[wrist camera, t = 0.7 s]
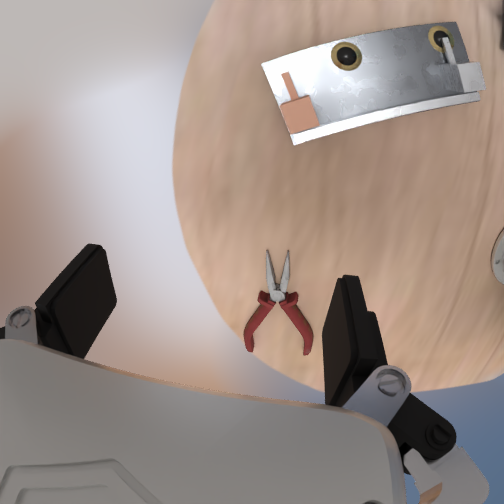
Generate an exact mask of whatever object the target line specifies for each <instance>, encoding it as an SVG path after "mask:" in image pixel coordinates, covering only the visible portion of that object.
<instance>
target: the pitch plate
mask: <svg viewBox="0 0 504 504" xmlns="http://www.w3.org/2000/svg"><path fill="white" fill-rule="evenodd" d="M261 65H262V67H263V69H264V72H265V74H266V76H267V79H268V81H269V83H270V86H271V88H272V91H273V93H274V95H275V98H276V100H277V103H278V105H279V106H280V105H281V104H282V103H284V102H287V101H290V100H291V98H290V95H289V93H288V90H287V88H286V85H285V83H284V80H283V78H282V76H281V74H283V73H286V72H289V75H290V77H291V79H292V82H293V84H294V87H295V89H296V92H297V94H298V97H303V96H306V95H309V97H310V100H311V102H312V105H313V108H314V111H315V113H316V116H317V119H318V122H319V124H320V126H316V127H313V128H310V129H307V130H303V131H300V132H297V133H294V134H291V135H290V136H291V139H292V142H293V144H294V145H297V144H300V143H303V142H307V141H310V140H313V139H316V138H320V137H323V136H327V135H330V134H334V133H337V132H341V131H344V130H348V129H352V128H355V127H359V126H363V125H367V124H371V123H375V122H379V121H383V120H387V119H391V118H395V117H400V116H404V115H409V114H413V113H418V112H422V111H427V110H432V109H437V108H442V107H448V106H453V105H459V104H464V103H470V102H477V101H479V100H480V96H479V92H477V91H479V90H486V86H485V82H484V78H483V74H482V70H481V67H480V63H479V62H469V59H468V55H467V52H466V49H465V46H464V43H463V40H462V37H461V34H460V31H459V29H458V26H457V23H456V22H446V23H434V24H425V25H417V26H409V27H402V28H396V29H390V30H384V31H378V32H373V33H368V34H363V35H359V36H354V37H350V38H346V39H341V40H337V41H333V42H330V43H326V44H322V45H318V46H315V47H311V48H308V49H305V50H301V51H298V52H295V53H292V54H289V55H285V56H282V57H279V58H276V59H274V60H271V61H268V62H265V63H262V64H261ZM279 108H280V107H279ZM280 110H281V109H280ZM281 113H282V112H281ZM282 115H283V114H282ZM283 118H284V117H283ZM284 121H285V119H284ZM285 123H286V122H285ZM286 126H287V125H286ZM287 128H288V127H287ZM288 131H289V130H288ZM289 134H290V132H289Z"/></svg>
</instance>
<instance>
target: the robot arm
mask: <svg viewBox="0 0 504 504" xmlns="http://www.w3.org/2000/svg"><path fill="white" fill-rule="evenodd" d="M491 265H492V271H493V273H494V275H495V277H496V278H497V280H498V281H499V282H500V283H502V284H504V230H503V231H502V232H501V234H500V235H499V237H498V239H497V241H496V243H495V246H494V249H493V253H492V259H491ZM116 303H117V298H116V294H115V290H114V286H113V282H112V278H111V273H110V269H109V265H108V260H107V255H106V251H105V250H104V249H103V247H102V246H101V245H96V244H87V245H86V246H85V247H84V248H83V249H82V250H81V252H80V253H79V254H78V255H77V256H76V257H75V258H74V259H73V260H72V261H71V262H70V263H69V265H67V267H66V268H65V269H64V270H63V271H62V272H61V273H60V274H59V276H58V277H57V278H56V279H55V280H54V281H53V282H52V283H51V285H50V286H49V287H48V288H47V289H46V291H45V292H44V293H43V294H42V295H41V296H40V298H39V299H38V300H37V301H36V302H35V304H36V307H37V308H36V309H35V310H34V309H33V308H32V307H29V306H21V307H18V308H16V309H15V310H13V311H12V312H11V313H10V314H9V315H8V317H7V318H6V323H5V327H2V328H0V504H407V503H406V489H405V478H404V473H406V474H409V475H412V476H413V478H414V479H415V481H416V482H415V483H414V484H415V485H416V487H417V488H418V490H419V493H420V501H419V504H483V502H484V501H485V500H486V498H487V496H488V494H489V484H488V482H487V480H486V478H485V477H484V476H483V474H482V473H481V471H480V470H479V469H478V467H477V466H476V465H475V463H474V462H473V461H472V459H471V458H470V457H469V455H468V454H467V453H466V451H465V450H464V449H463V447H461V448H458V446H457V445H456V444H455V443H456V432H455V429H454V427H453V426H452V425H451V424H450V423H449V422H448V421H447V420H446V419H444V418H443V417H442V416H440V415H439V414H438V413H436V412H435V411H434V410H432V409H431V408H430V407H428V406H427V405H426V404H424V403H423V402H422V401H420V400H419V399H418V398H416V397H415V396H414V395H412V394H411V393H410V391H411V381H410V378H409V377H408V375H407V374H406V373H405V372H404V371H403V370H402V369H400V368H398V367H396V366H391V365H388V364H387V359H386V355H385V350H384V346H383V342H382V337H381V333H380V329H379V325H378V321H377V317H376V314H375V313H374V312H371V311H367V307H366V303H365V299H364V295H363V291H362V287H361V283H360V280H359V277H358V276H352V275H343V277H342V278H338V279H337V282H336V286H335V289H334V293H333V296H332V300H331V303H330V307H329V310H328V313H327V317H326V320H325V323H324V327H323V331H322V343H323V361H324V382H325V405H324V404H316V403H308V402H299V401H289V400H280V399H272V398H264V397H256V396H248V395H241V394H234V393H227V392H221V391H215V390H209V389H203V388H198V387H193V386H188V385H183V384H177V383H173V382H168V381H164V380H159V379H155V378H151V377H146V376H142V375H138V374H134V373H131V372H127V371H123V370H119V369H116V368H112V367H108V366H105V365H101V364H98V363H94V362H91V361H88V360H84V358H85V356H86V354H87V353H88V351H89V349H90V347H91V346H92V344H93V342H94V341H95V339H96V337H97V336H98V334H99V332H100V331H101V329H102V327H103V326H104V324H105V322H106V320H107V319H108V318H109V316H110V314H111V313H112V311H113V309H114V308H115V306H116Z"/></svg>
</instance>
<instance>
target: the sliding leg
mask: <svg viewBox="0 0 504 504" xmlns="http://www.w3.org/2000/svg"><path fill="white" fill-rule="evenodd" d="M281 76H282V78H283V80H284V83H285V85H286V88H287V90H288V93H289V95H290V98H291V100H290V101H287V102H284V103H282V104H281V105H280V106H279V107H280V109H281V112H282V114H283V117H284V119H285V122H286V125H287V127H288V130H289V132H290V135H291V134H294V133H297V132H300V131H303V130H307V129H310V128H313V127H316V126H320V124H319V122H318V119H317V116H316V113H315V111H314V108H313V105H312V102H311V100H310V97H309V95H306V96H303V97H298V94H297V92H296V89H295V87H294V84H293V82H292V79H291V77H290V75H289V72H286V73H283V74H281Z"/></svg>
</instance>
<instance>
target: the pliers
mask: <svg viewBox="0 0 504 504" xmlns="http://www.w3.org/2000/svg"><path fill="white" fill-rule="evenodd" d="M266 279H267V284H268V289H269V294H268V293H266V292H264V291H261V292H260V293H259V296H258V302H259V303H260V304H261V305H260V306H259V308H258V309H257V311H256V312H255V313H254V315H253V316H252V317H251V319H250V320H249V322H248V323H247V325H246V327H245V330H244V340H245V346H246V349H247V351H249V352H253V349H254V342H253V333H254V331H255V330H256V329H257V327H258V326H259V325H260V323H261V322H262V321H263V320H264V318H265V317H266V316H267V314H268V313H269V312H270V310H271V309H272V308H273V307H274V305H275V304H276V301H279V304H280V306H281V308H282V309H283V310H284V311H285V313H286V314H287V315H288V317H289V318H290V319H291V321H292V322H293V324H294V325H295V326H296V328H297V329H298V331H299V332H300V333H301V335H302V336H303V338H304V352H303V355H308V354H309V353H310V352H311V348H312V342H313V333H312V330H311V328H310V326H309V324H308V322H307V321H306V320H305V318H304V317H303V315H302V314H301V312H300V311H299V309H298V308H297V306H296V305H295V304H296V303H297V302H298V294H297V292H294V293H291V294H288V292H286V289H287V285H288V280H289V250H288V252H287V256H286V261H285V265H284V269H283V273H282V277H281V284H277V283H274V280H275V274H274V270H273V266H272V263H271V260H270V256H269V253H268V250H267V251H266ZM285 292H286V293H285Z"/></svg>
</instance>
